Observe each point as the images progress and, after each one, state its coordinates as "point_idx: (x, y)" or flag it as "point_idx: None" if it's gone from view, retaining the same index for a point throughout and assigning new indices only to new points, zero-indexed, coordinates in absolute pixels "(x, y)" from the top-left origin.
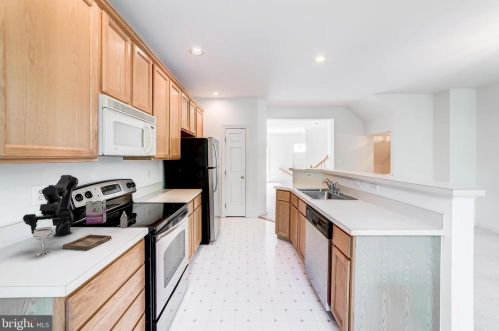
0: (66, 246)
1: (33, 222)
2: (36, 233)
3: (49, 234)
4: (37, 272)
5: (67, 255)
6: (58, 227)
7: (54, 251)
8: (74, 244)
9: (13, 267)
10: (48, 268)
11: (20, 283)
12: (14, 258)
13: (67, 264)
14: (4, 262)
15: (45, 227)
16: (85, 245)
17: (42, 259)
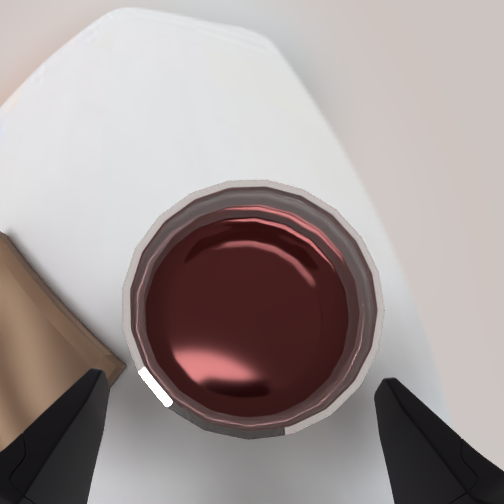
0: (92, 340)
1: (480, 497)
2: (304, 220)
3: (163, 262)
4: (194, 70)
5: (87, 206)
6: (66, 392)
7: None
8: None
9: (320, 164)
10: (160, 85)
11: (226, 30)
12: None
13: (95, 96)
14: (401, 268)
15: (252, 429)
16: (5, 320)
17: None
